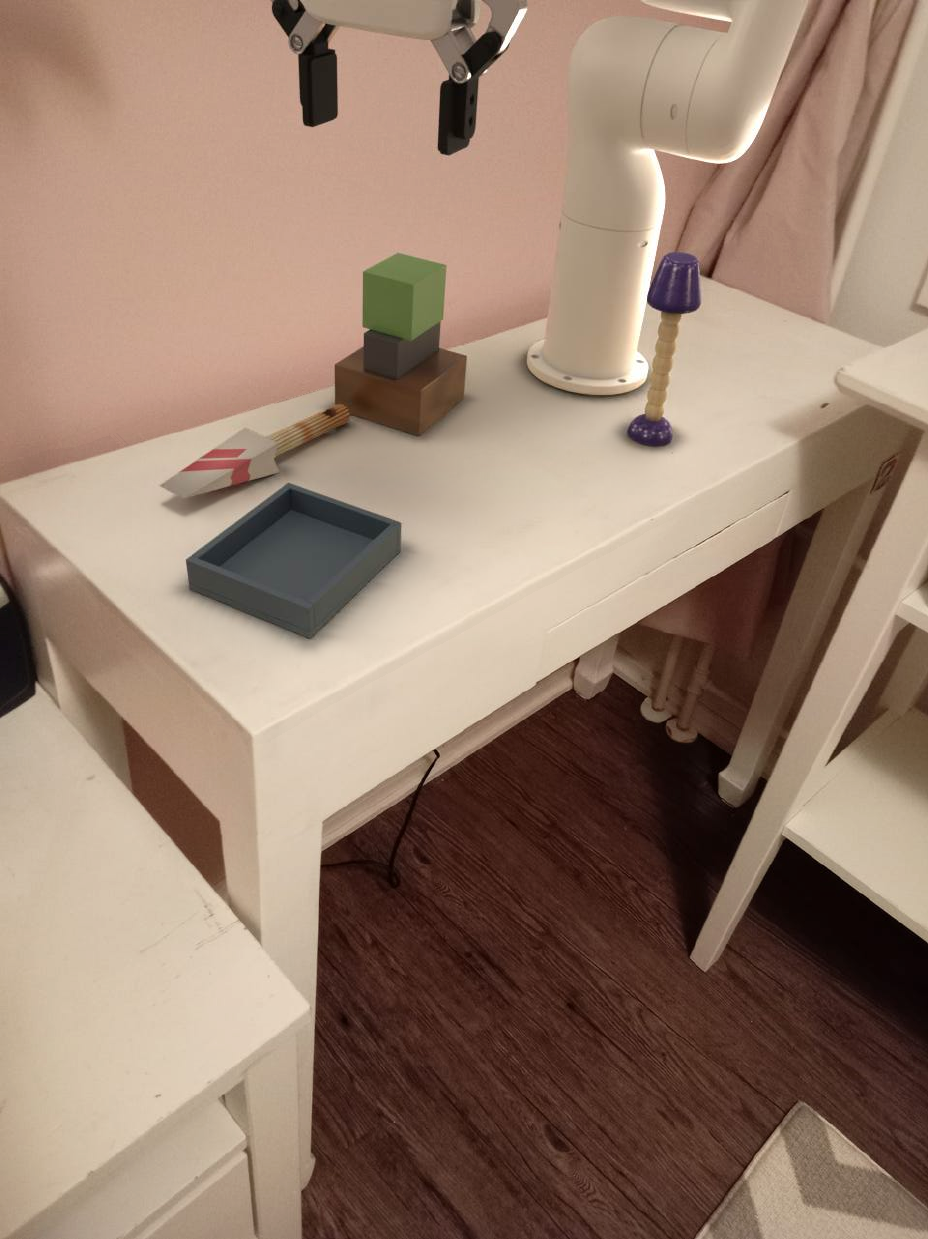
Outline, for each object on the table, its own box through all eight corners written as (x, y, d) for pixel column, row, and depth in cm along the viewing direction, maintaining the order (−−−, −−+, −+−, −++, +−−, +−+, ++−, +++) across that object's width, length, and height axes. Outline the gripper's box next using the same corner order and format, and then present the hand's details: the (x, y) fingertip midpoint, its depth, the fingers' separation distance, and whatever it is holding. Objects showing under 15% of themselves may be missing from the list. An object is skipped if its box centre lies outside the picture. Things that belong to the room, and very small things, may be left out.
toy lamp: (641, 451, 89) (679, 269, 79) (610, 428, 92) (643, 250, 82) (681, 441, 91) (724, 262, 81) (649, 419, 94) (687, 244, 84)
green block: (396, 306, 91) (397, 252, 88) (443, 319, 89) (446, 264, 86) (362, 327, 87) (362, 271, 84) (411, 341, 85) (413, 284, 82)
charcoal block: (407, 340, 94) (408, 305, 91) (439, 350, 93) (441, 314, 90) (363, 370, 88) (363, 333, 86) (396, 380, 87) (397, 343, 85)
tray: (289, 510, 78) (288, 482, 76) (400, 551, 74) (401, 522, 73) (189, 589, 69) (185, 559, 67) (310, 639, 66) (309, 609, 64)
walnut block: (384, 375, 98) (385, 332, 95) (463, 399, 95) (467, 355, 92) (334, 409, 91) (334, 364, 88) (418, 436, 88) (421, 390, 86)
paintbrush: (152, 466, 75) (328, 392, 89) (155, 497, 77) (327, 420, 91) (186, 483, 74) (360, 406, 87) (188, 515, 75) (359, 434, 89)
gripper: (570, -204, 51) (533, 148, 62) (291, -226, 56) (303, 102, 67) (511, -211, 46) (483, 176, 57) (209, -235, 51) (237, 124, 62)
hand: (385, 136), depth 62 cm, fingers open, 9 cm apart
